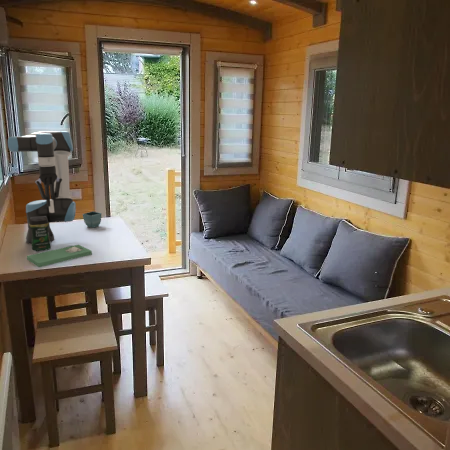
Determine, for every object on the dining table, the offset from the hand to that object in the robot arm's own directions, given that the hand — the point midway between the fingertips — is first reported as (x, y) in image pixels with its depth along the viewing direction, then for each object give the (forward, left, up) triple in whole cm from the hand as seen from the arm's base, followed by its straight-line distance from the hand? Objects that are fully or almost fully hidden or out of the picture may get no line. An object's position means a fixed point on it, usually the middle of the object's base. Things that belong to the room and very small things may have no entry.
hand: (51, 212), depth 215 cm
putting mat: (0, +2, -24) cm, 24 cm away
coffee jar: (-19, 0, -25) cm, 31 cm away
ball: (0, +10, -23) cm, 25 cm away
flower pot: (-43, +43, -25) cm, 65 cm away
